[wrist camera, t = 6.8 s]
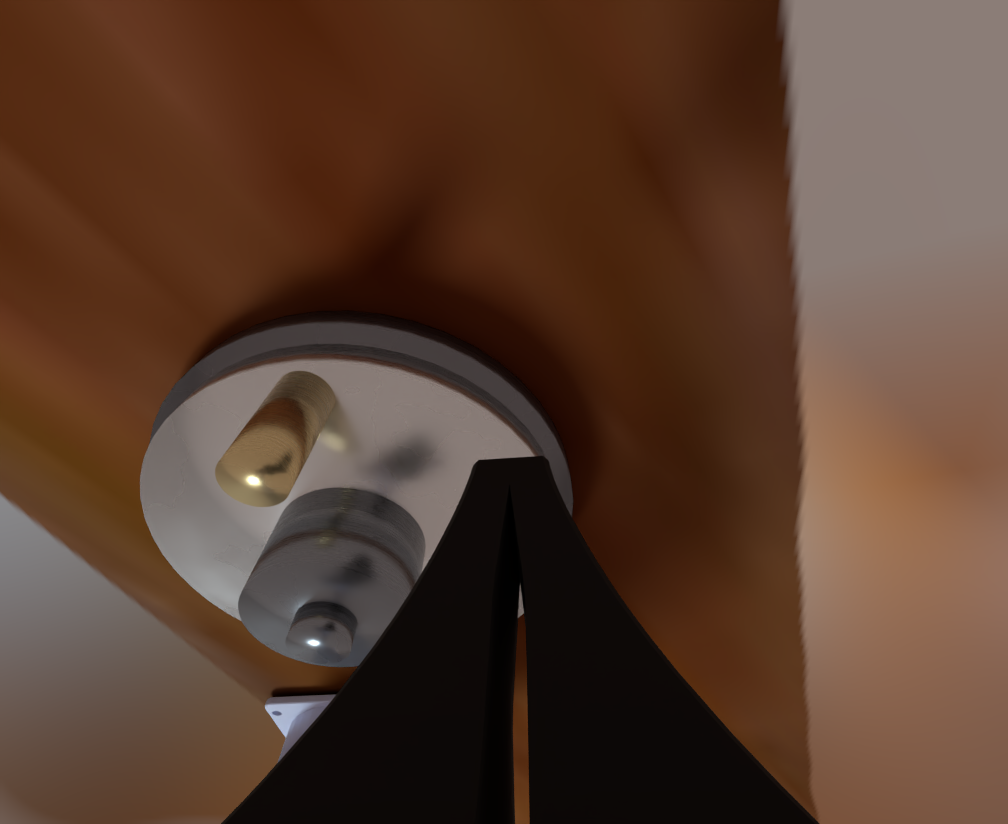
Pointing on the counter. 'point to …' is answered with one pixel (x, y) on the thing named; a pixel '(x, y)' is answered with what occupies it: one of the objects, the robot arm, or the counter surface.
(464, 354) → the turntable base
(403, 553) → the lid
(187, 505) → the turntable
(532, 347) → the counter surface
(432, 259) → the counter surface
